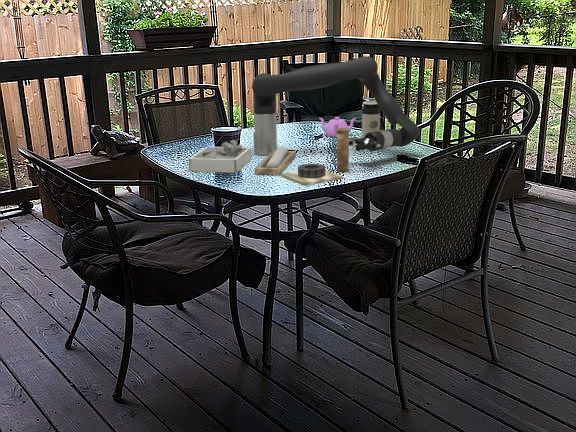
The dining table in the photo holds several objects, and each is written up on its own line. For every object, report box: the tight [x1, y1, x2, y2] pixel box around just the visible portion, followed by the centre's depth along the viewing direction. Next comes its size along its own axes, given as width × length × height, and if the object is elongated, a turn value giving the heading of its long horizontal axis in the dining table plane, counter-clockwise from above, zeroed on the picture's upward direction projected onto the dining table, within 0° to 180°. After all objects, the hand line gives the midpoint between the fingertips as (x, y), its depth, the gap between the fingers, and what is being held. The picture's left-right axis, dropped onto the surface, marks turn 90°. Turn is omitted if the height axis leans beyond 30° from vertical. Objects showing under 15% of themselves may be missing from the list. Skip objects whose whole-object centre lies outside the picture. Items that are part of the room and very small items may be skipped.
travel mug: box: [361, 100, 381, 137], centre depth 294 cm, size 8×8×18 cm
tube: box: [266, 146, 288, 168], centre depth 259 cm, size 5×5×25 cm
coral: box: [201, 139, 243, 159], centre depth 260 cm, size 17×14×10 cm
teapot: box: [318, 116, 357, 138], centre depth 313 cm, size 12×14×9 cm
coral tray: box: [187, 146, 252, 174], centre depth 262 cm, size 19×22×5 cm
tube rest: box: [254, 150, 297, 176], centre depth 259 cm, size 10×31×2 cm, turn 168°
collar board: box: [280, 163, 343, 186], centre depth 240 cm, size 16×16×4 cm
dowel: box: [336, 128, 350, 173], centre depth 246 cm, size 4×4×16 cm
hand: (348, 146), depth 248 cm, fingers open, 8 cm apart
